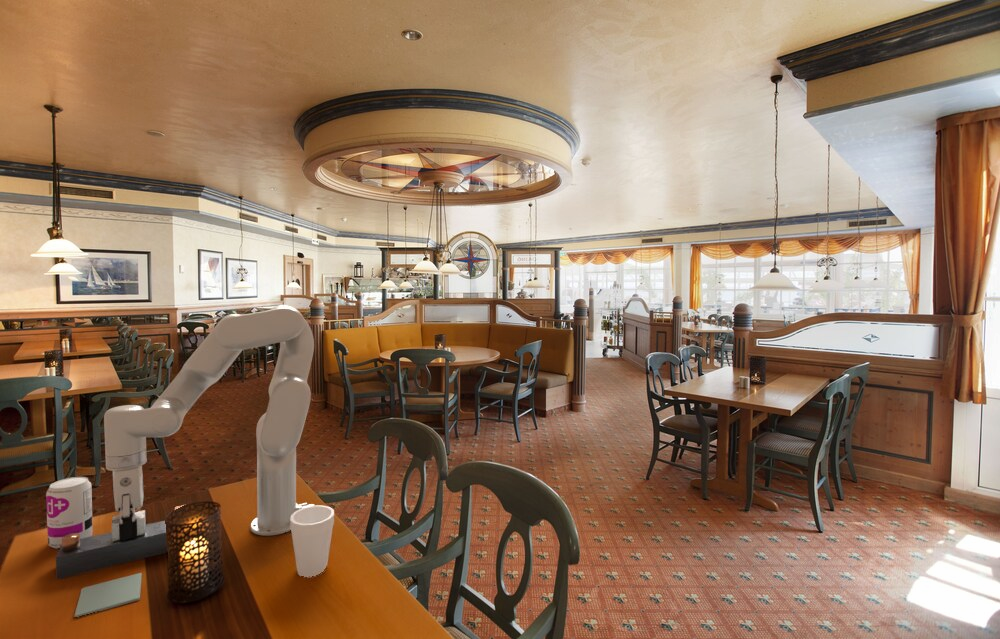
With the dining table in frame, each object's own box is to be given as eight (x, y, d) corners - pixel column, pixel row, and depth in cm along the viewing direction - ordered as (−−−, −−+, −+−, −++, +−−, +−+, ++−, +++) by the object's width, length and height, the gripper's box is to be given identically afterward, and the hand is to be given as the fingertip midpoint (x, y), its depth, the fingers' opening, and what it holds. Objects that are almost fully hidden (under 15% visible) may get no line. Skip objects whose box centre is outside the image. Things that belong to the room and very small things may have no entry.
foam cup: (341, 569, 108) (341, 515, 107) (301, 587, 101) (301, 529, 100) (321, 552, 114) (322, 501, 114) (283, 568, 108) (283, 514, 107)
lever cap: (145, 525, 114) (145, 507, 114) (144, 533, 111) (144, 515, 110) (114, 532, 111) (113, 514, 111) (112, 541, 107) (111, 522, 107)
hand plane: (188, 534, 121) (187, 500, 120) (189, 546, 115) (188, 511, 115) (62, 563, 107) (61, 525, 106) (56, 579, 101) (55, 539, 101)
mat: (141, 574, 104) (141, 572, 104) (139, 599, 96) (139, 597, 96) (82, 590, 98) (82, 588, 98) (74, 618, 90) (74, 616, 90)
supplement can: (65, 552, 111) (64, 491, 110) (39, 547, 113) (36, 487, 112) (101, 534, 119) (99, 477, 118) (75, 530, 121) (73, 474, 120)
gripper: (145, 467, 105) (147, 545, 106) (147, 445, 119) (150, 514, 120) (101, 474, 101) (104, 555, 102) (109, 450, 114) (112, 522, 116)
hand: (129, 532), depth 111 cm, fingers closed on lever cap, 4 cm apart
